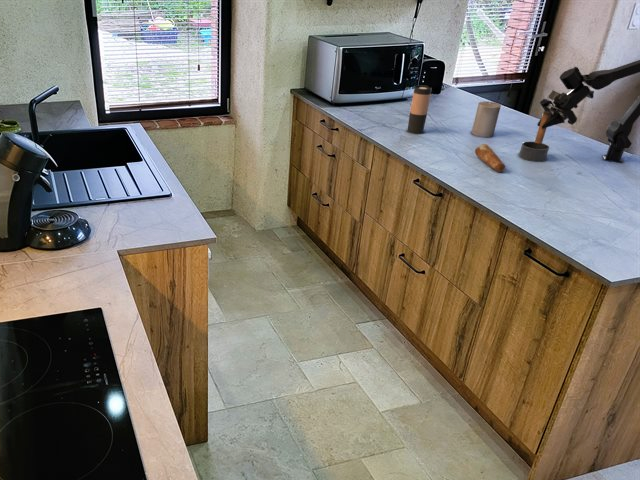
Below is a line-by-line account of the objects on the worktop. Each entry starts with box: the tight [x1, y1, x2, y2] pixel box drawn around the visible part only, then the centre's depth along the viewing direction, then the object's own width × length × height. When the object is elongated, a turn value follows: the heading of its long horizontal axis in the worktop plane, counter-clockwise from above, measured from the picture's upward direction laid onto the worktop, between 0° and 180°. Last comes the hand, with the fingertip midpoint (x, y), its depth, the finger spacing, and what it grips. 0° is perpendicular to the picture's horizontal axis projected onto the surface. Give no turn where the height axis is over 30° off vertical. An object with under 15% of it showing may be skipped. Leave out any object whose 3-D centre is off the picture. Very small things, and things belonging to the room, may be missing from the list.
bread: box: [474, 143, 506, 173], centre depth 238 cm, size 6×19×6 cm, turn 3°
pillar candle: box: [471, 100, 502, 138], centre depth 269 cm, size 10×10×15 cm
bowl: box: [518, 141, 550, 162], centre depth 247 cm, size 10×10×5 cm
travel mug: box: [407, 84, 432, 135], centre depth 270 cm, size 8×8×20 cm
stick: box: [534, 110, 551, 143], centre depth 240 cm, size 3×3×12 cm
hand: (539, 126), depth 240 cm, fingers closed on stick, 3 cm apart
